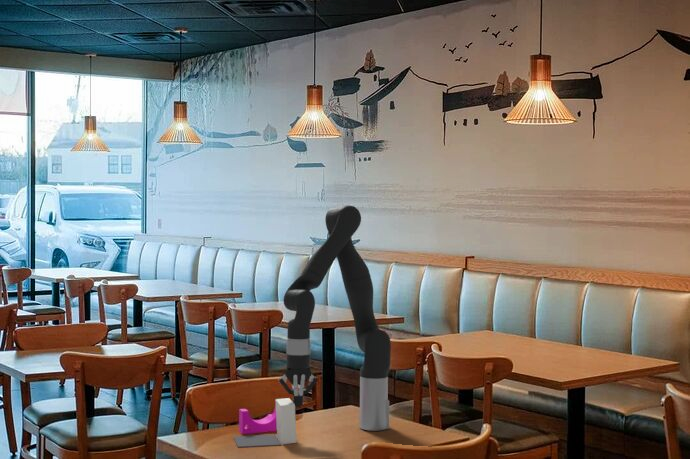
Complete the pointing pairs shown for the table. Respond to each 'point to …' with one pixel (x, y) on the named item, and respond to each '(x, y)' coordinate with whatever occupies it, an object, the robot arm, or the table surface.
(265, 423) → the toy block
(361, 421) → the robot arm
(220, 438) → the table surface
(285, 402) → the white rectangular block
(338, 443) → the table surface
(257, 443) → the mat
